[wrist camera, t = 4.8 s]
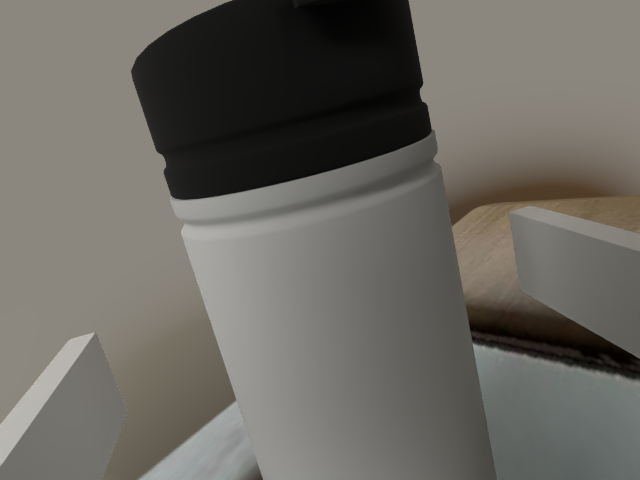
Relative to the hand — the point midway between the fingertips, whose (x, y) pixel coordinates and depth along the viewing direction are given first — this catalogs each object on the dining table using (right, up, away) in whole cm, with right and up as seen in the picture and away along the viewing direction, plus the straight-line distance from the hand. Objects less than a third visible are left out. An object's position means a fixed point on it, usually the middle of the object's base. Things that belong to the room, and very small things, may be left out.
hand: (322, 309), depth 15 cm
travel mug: (+4, -12, +1) cm, 12 cm away
